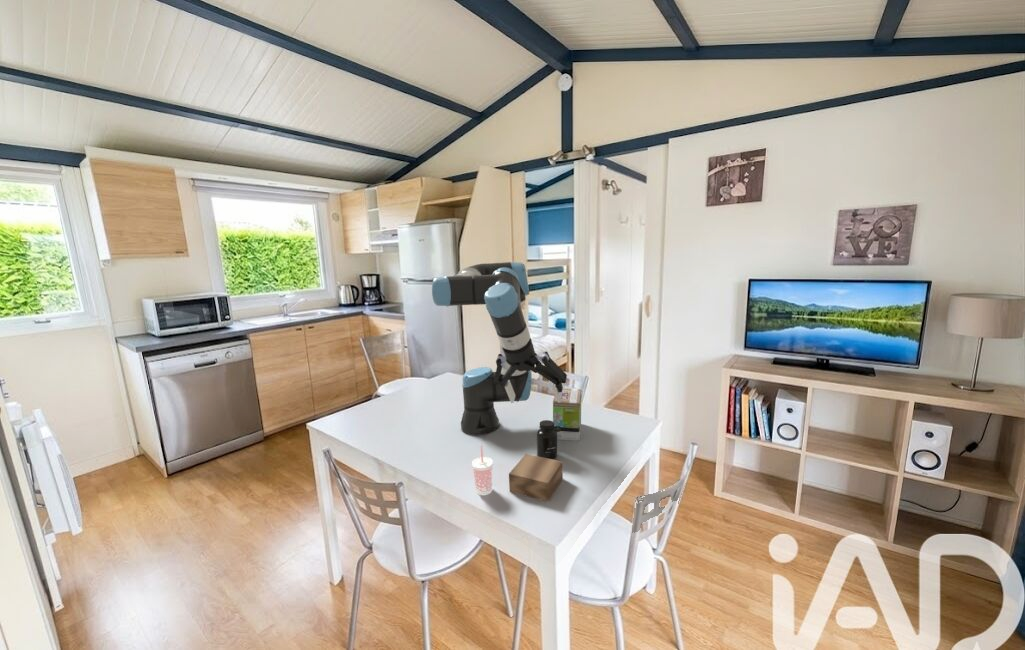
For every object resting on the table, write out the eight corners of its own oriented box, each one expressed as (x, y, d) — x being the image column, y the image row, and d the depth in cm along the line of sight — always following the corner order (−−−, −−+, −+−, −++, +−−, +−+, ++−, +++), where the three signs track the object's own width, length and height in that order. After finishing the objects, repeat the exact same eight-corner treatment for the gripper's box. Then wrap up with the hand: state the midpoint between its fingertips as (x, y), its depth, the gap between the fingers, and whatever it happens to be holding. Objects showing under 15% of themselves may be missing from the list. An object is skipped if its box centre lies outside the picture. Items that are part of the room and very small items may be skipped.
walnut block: (509, 492, 114) (508, 473, 113) (526, 471, 124) (525, 453, 123) (548, 502, 108) (548, 483, 107) (562, 479, 119) (562, 461, 118)
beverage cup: (488, 498, 111) (486, 453, 108) (469, 494, 113) (466, 449, 110) (498, 486, 116) (495, 443, 113) (479, 482, 119) (477, 439, 116)
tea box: (580, 441, 141) (580, 402, 138) (552, 439, 143) (551, 401, 141) (581, 423, 156) (581, 388, 153) (556, 422, 158) (555, 387, 155)
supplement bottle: (552, 463, 127) (551, 429, 125) (533, 458, 131) (532, 425, 129) (561, 454, 133) (560, 421, 131) (543, 449, 137) (542, 417, 134)
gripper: (466, 354, 99) (491, 409, 111) (563, 349, 91) (579, 409, 103) (475, 335, 105) (498, 389, 117) (567, 328, 96) (581, 388, 108)
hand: (536, 399), depth 110 cm, fingers open, 13 cm apart
